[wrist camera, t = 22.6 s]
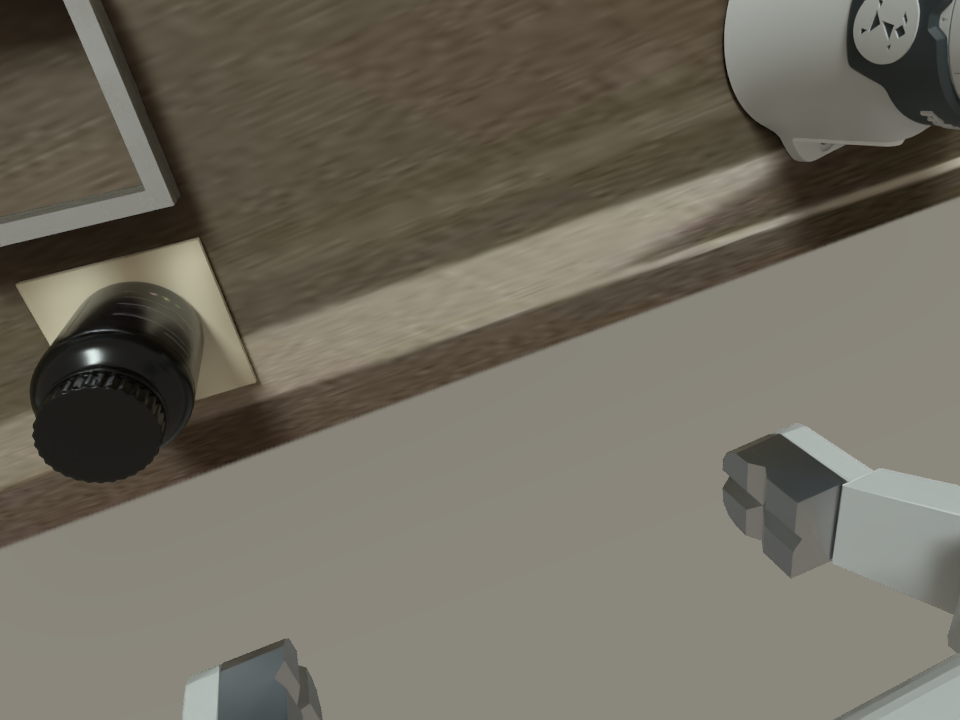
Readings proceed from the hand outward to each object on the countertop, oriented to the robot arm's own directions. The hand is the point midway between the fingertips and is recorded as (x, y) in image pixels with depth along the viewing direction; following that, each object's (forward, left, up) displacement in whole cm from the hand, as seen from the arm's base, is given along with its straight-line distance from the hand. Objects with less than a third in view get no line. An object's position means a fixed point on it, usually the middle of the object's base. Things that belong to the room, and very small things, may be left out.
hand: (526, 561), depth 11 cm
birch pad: (+13, +4, -31) cm, 34 cm away
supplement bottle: (+13, +4, -30) cm, 33 cm away
